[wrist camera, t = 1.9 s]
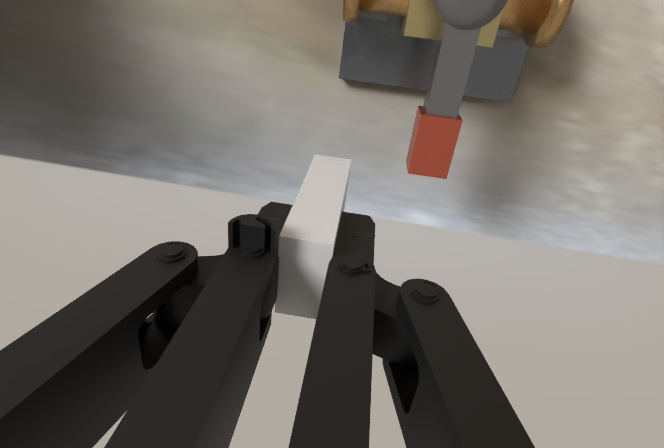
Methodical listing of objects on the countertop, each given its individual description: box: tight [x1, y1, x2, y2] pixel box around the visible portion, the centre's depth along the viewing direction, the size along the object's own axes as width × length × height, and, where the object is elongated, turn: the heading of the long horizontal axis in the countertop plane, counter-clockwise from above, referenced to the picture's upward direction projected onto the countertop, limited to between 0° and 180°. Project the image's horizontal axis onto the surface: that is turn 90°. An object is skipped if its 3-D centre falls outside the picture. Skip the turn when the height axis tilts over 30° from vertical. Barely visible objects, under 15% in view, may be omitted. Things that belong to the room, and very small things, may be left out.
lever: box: [406, 0, 508, 179], centre depth 25 cm, size 13×4×2 cm, turn 174°
